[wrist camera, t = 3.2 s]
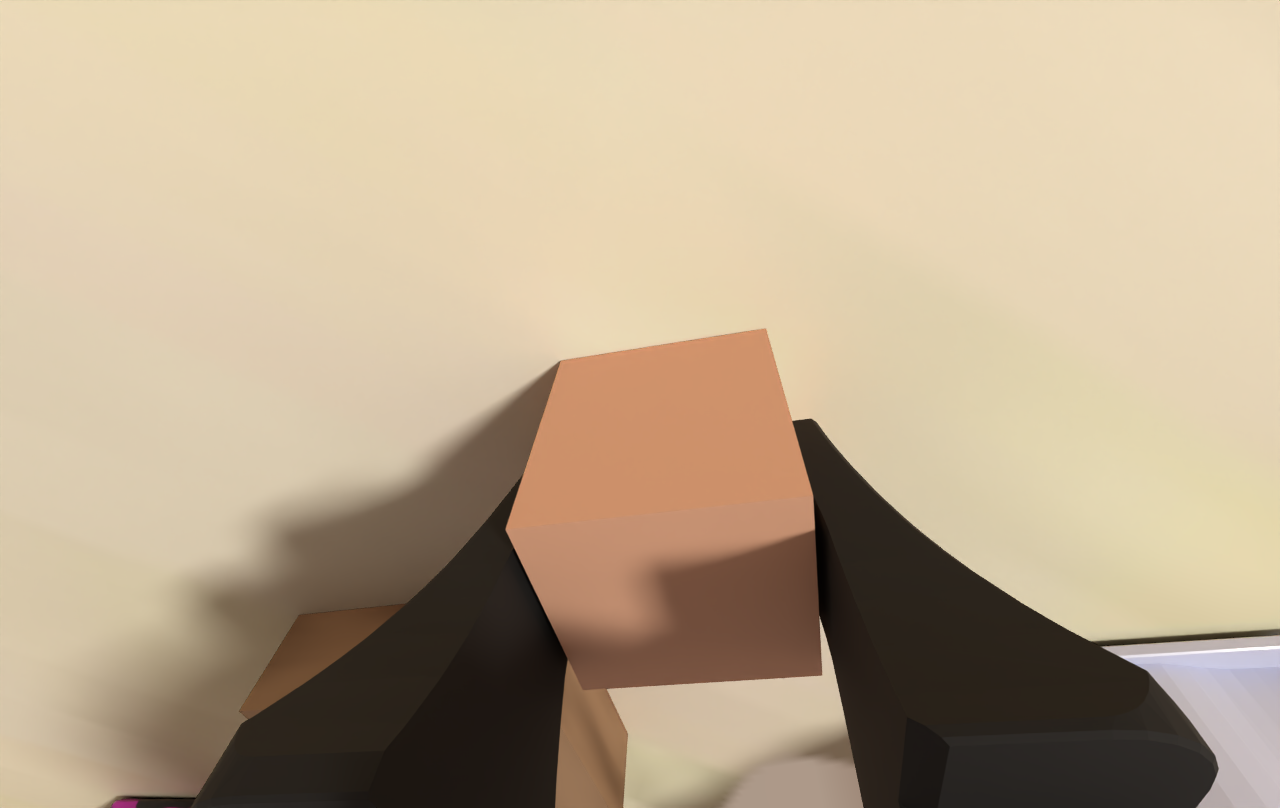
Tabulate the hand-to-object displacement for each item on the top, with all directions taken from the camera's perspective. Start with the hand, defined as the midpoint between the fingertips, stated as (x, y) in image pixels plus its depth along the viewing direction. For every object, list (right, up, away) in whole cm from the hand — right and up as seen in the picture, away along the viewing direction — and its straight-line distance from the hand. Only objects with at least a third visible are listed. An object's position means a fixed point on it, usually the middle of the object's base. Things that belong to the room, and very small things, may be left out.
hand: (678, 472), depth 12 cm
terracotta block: (0, +1, +1) cm, 2 cm away
